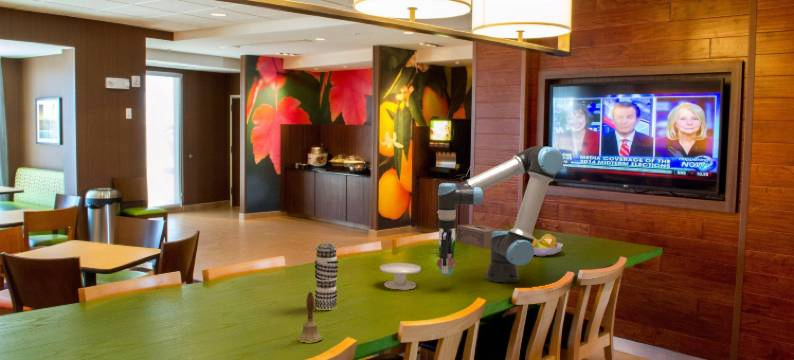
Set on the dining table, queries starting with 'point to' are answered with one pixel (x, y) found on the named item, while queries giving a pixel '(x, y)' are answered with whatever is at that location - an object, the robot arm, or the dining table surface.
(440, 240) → the milk carton
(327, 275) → the decorative candle
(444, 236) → the robot arm
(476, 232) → the tissue box cover
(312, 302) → the hand bell
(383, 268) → the cake stand
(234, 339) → the dining table surface
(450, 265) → the cupcake
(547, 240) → the fruit bowl
